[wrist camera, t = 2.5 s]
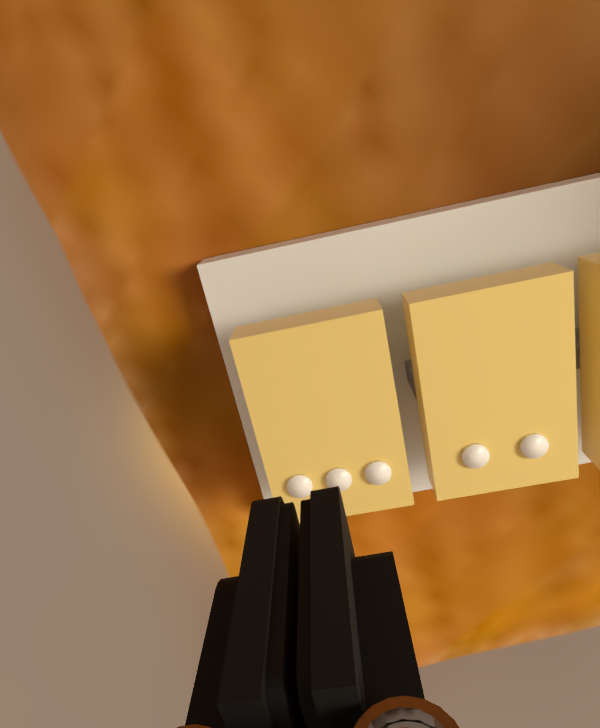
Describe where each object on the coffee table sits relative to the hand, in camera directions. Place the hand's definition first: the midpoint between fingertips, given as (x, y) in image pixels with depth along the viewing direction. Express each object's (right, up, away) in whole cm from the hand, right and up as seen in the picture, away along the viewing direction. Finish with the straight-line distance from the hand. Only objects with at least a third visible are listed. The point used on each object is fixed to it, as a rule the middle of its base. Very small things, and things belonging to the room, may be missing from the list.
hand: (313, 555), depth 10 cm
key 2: (+8, +3, +11) cm, 14 cm away
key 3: (+1, +1, +12) cm, 12 cm away
